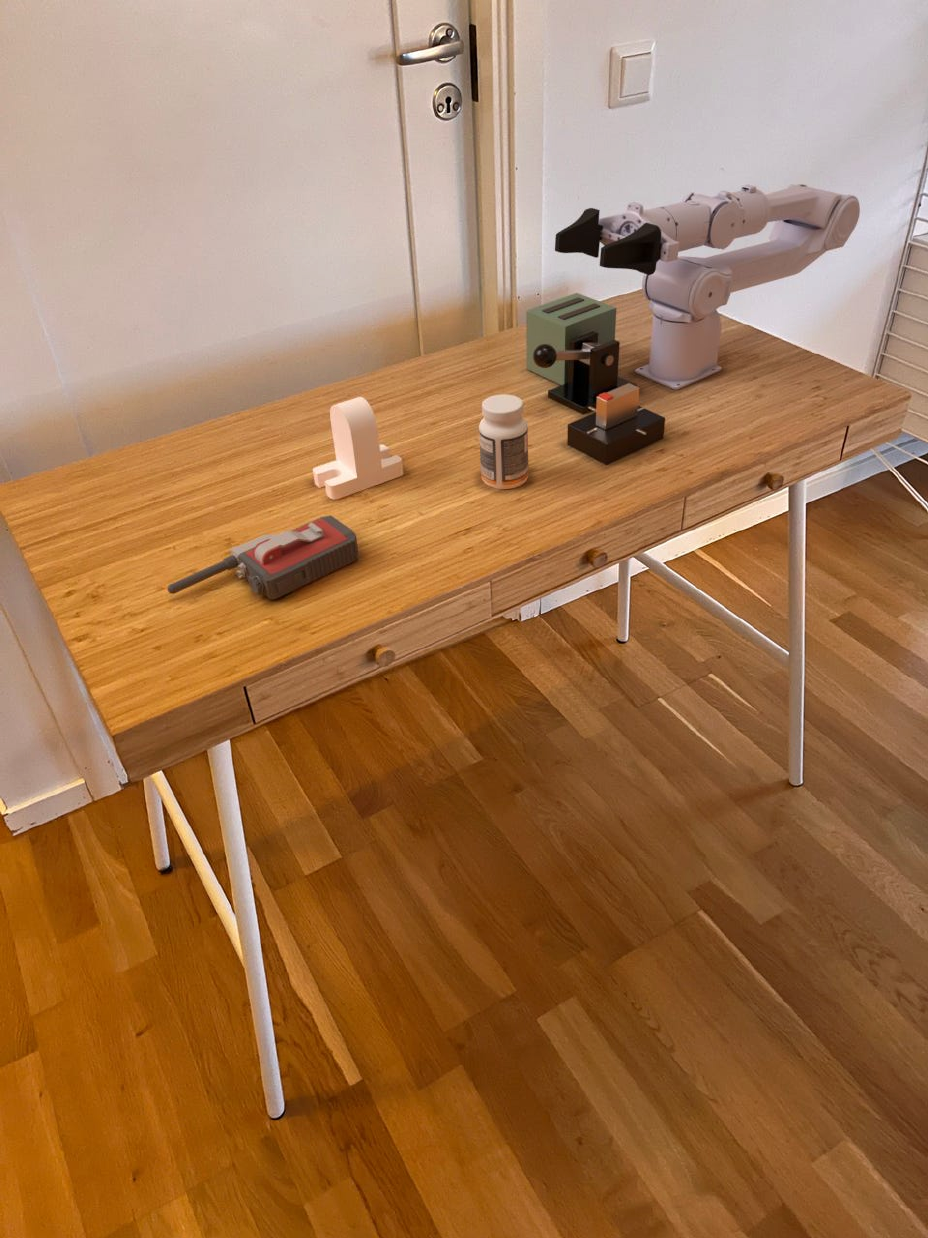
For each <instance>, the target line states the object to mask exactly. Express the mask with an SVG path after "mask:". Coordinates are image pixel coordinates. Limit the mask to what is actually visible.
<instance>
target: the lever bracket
mask: <svg viewBox="0 0 928 1238" xmlns="http://www.w3.org/2000/svg"><path fill="white" fill-rule="evenodd" d="M594 342H598V333H597V332H594V331H592V332H589V333H587V334H584V335H582V336H579V337H576V338H574V339H571V340H569V350H581V349H582V345H583V343H594ZM620 344H621V342H620V341H619V340H616V339H615V340H612V341H610V342H607V343H605V344H602V345H600V346H597V347H594V348H592V349H590V365H588V364H586V363H584V362H581V361H579V360H569V373H568V383H565V384H563V385H558V386H555V387H553V388H550V389H549V390H547V398H548V399H550V400H551V401H554V402H556V403H558V404H560V405H561V406H564V407H566V408H567V409H570V410H573V411H575V412H576V413H578V414H581V415H582V416H583V415H586V414H589V413H591V412H594V411H593V410H591V409H589V408H588V407H590V406H591V407H593V408H595V409H596V405H597V397H598V396H599V394H602V393H604V392H605V393H607V392H609V391H612V390H614V389H616V388H619V387H621V386H623V385H626V384H628V383H630V384H632V385H634V386H637V387H638V385H637V384H636V383H634V382H632V381H629V380H627V379H625V378H623V377H620V376H619V363H620V362H619V359H620Z"/></svg>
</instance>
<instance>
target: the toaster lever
mask: <svg viewBox="0 0 928 1238" xmlns="http://www.w3.org/2000/svg"><path fill="white" fill-rule="evenodd" d="M600 345H602V344H600V343H598V342H594V343H583V345H582V349H581V350H557V351H555V349H554V348H553V347H552V346H551V345H549V344H541V345H539V346H538V347H537V348H536V349H535V350H534V353H533V360H534V362H535V364H536V365H537V366H538V367H540V368H549V367H551V366H552V365H553V364H554V363H555V361H559V360H579V361H581V362H584V363H586V364H588V365H590V349H592V348H594V347H597V346H600Z"/></svg>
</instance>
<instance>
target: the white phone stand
mask: <svg viewBox="0 0 928 1238" xmlns="http://www.w3.org/2000/svg"><path fill="white" fill-rule="evenodd" d="M329 420H330V426H331V432H332V433H331V434H332V440H333V446H334V453H335V460H333V461H330V462H327V463H323V464H320V465H318V466H316V467H313V468H312V475H313V479H314V481H313V482H314V485H315V486H316V487H317V488H318V489H320V488H321V489H322V488H324V487H325V493H326V496H327V497H328V499H330V500H333V501H336V500H340V499H343V498H345V497H348V496H351V495H353V494H355V493H359V492H361V491H363V490H368V489H369V488H373V487H375V486H377V485H380V484H383V483H386V482H389V481H391V480H394V479H396V478H397V479H398V478H399V477H402V476H403V475H404V465H403V458H402V457H401V456H399V455H398V454H395V455H392V456H391V454H390V448H389V447H388V446H387V445H386V444H380V438H379V431H378V422H377V419H376V416H375V413H374V410H373V409H372V406H371V405H370V403H369V402H368V401H367V400H366V398H365V397H363V396H357V397H355V398H351V399H348V400H345V401H342V402H339V403H336V404H332V406H331V407H330V409H329Z"/></svg>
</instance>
